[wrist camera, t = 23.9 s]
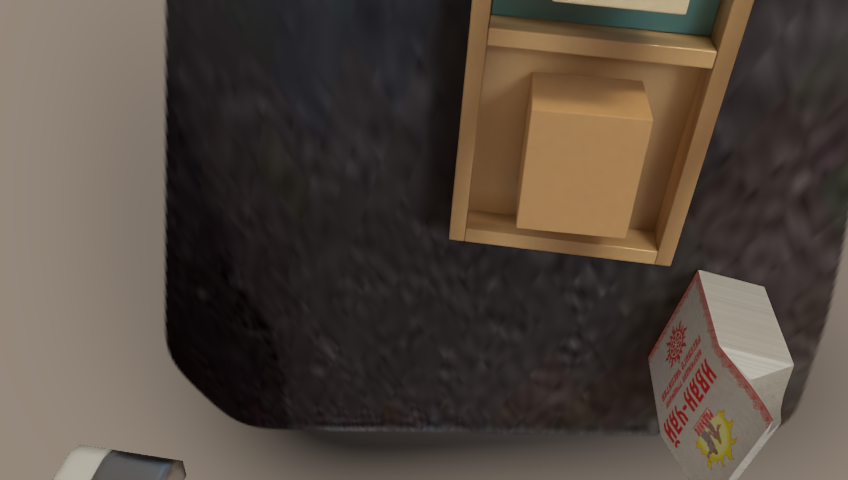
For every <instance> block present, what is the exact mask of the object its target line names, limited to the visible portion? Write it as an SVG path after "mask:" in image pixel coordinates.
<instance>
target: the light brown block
mask: <svg viewBox="0 0 848 480" xmlns="http://www.w3.org/2000/svg"><path fill="white" fill-rule="evenodd" d="M652 125H653V117H652V113H651V110H650V106H649V102H648V99H647V95H646V91H645V88H644V84H643V81H636V80H624V79H613V78H601V77H589V76H577V75H565V74H553V73H542V72H532V75H531V83H530V91H529V99H528V107H527V115H526V123H525V130H524V138H523V146H522V154H521V162H520V170H519V178H518V189H517V211H516V228H522V229H532V230H542V231H552V232H562V233H572V234H582V235H592V236H601V237H611V238H621V239H625V238H626V235H627V231H628V227H629V223H630V218H631V214H632V210H633V206H634V201H635V197H636V193H637V189H638V184H639V180H640V176H641V172H642V167H643V163H644V159H645V155H646V150H647V146H648V142H649V138H650V133H651V129H652Z"/></svg>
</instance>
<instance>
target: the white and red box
mask: <svg viewBox="0 0 848 480" xmlns="http://www.w3.org/2000/svg"><path fill="white" fill-rule="evenodd" d="M648 360H649V366H650V372H651V378H652V384H653V390H654V396H655V402H656V408H657V414H658V420H659V427H660V433H661V437H662V438H663V440H664V442H665V443H666V445H667V446H668V448H669V449H670V451H671V452H672V454H673V456H674V457H675V459H676V460H677V462H678V463H679V465H680V466H681V468H682V469H683V471H684V472H685V474H686V476H687V477H688V479H689V480H737V479H738V478H739V476H740V475H741V474H742V472H743V471H744V470H745V469H746V467H747V466H748V465H749V463H750V462H751V461H752V460H753V458H754V457H755V456H756V454H757V453H758V452H759V450H760V449H761V448H762V447H763V445H764V444H765V443H766V441H767V440H768V439H769V437H770V436H771V435H772V433H773V432H774V431H775V430H776V428H777V427H778V426H779V425H780V423H781V412H780V410H781V405H782V400H783V395H784V392H785V389H786V386H787V384H788V381H789V378H790V375H791V372H792V369H793V366H794V364H793V361H792V359H791V356H790V353H789V351H788V348H787V346H786V343H785V340H784V338H783V335H782V333H781V330H780V327H779V325H778V322H777V319H776V317H775V314H774V312H773V309H772V306H771V304H770V301H769V299H768V296H767V293H766V291H765V288H764V287H763V286H759V285H755V284H751V283H748V282H744V281H740V280H736V279H732V278H728V277H725V276H721V275H717V274H713V273H709V272H705V271H702V270H697V272H696V274H695V276H694V277H693V279H692V281H691V283H690V284H689V286H688V288H687V290H686V291H685V293H684V295H683V297H682V298H681V300H680V302H679V304H678V305H677V307H676V309H675V311H674V312H673V314H672V316H671V318H670V320H669V321H668V323H667V325H666V327H665V328H664V330H663V332H662V334H661V335H660V337H659V339H658V341H657V342H656V344H655V346H654V348H653V349H652V351H651V353H650V355H649V356H648Z"/></svg>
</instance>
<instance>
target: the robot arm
mask: <svg viewBox="0 0 848 480" xmlns="http://www.w3.org/2000/svg"><path fill="white" fill-rule="evenodd" d="M185 477H186V472H185V468H184V465H183V461H180V460H173V459H167V458H160V457H154V456H148V455H141V454H135V453H129V452H122V451H116V450H112V449H105V448H98V447H91V446H84V445H79V446H78V447H76V448H75V449H74V450H73V451H72V452H71V453H70V454H68V456H67V457H66V459H65V461H64V462H63V464H62V466H61V467H60V469H59V470H58V472H57V473H56V475H55V476H54V478H53V480H184V479H185Z"/></svg>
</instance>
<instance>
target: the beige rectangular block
mask: <svg viewBox="0 0 848 480" xmlns="http://www.w3.org/2000/svg"><path fill="white" fill-rule="evenodd" d="M552 1H554V2H563V3H573V4H582V5H592V6H602V7H611V8H621V9H631V10H640V11H650V12H660V13H669V14H679V15H685V14H686V12H687V9H688V5H689V1H690V0H552Z"/></svg>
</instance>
